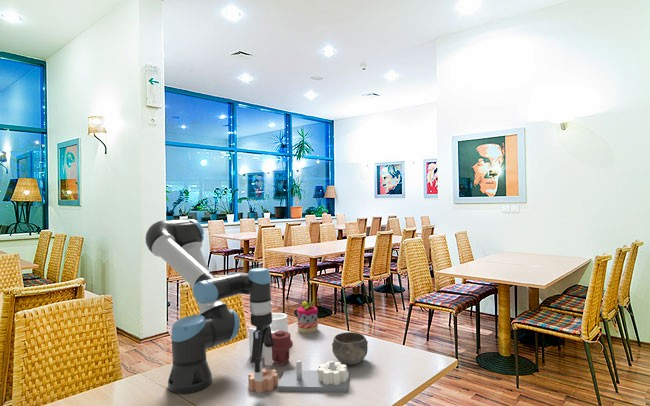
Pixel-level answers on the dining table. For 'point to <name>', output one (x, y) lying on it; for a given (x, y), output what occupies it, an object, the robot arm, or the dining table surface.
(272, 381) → the gear
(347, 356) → the bowl
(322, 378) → the gear
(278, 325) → the white joined open cylinders
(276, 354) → the mechanical component
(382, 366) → the dining table surface
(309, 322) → the cake
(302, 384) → the gear board
